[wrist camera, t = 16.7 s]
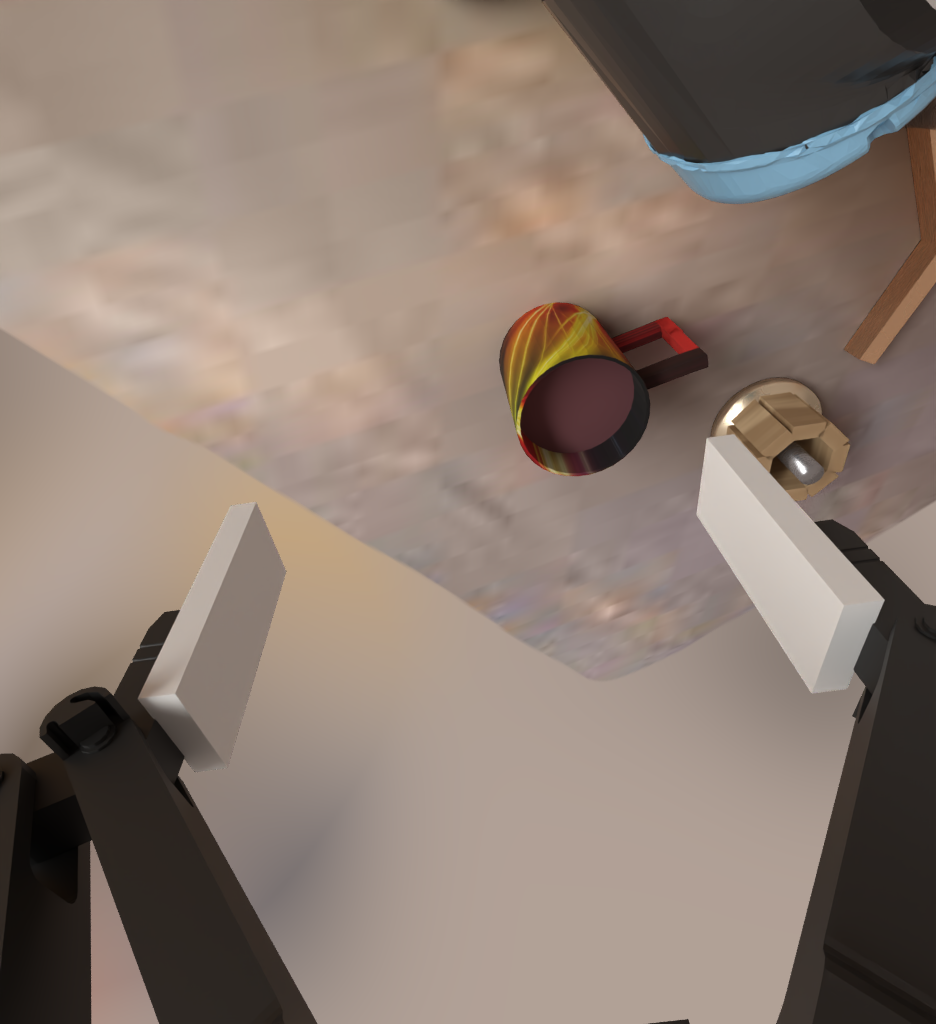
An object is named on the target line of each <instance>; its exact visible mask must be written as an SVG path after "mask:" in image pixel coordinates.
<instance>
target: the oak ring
mask: <svg viewBox="0 0 936 1024" xmlns="http://www.w3.org/2000/svg"><path fill="white" fill-rule="evenodd" d="M731 422H732V423H733V424H734V425H729V426H728V427H727V433H726V435H731V434H734V435H735V436H736V437H737V438H738V439H739V440H740V441H741V442H742V444H743V445H744V446H745V447H746V448H747V449H748V450H749V451H750V452H751V453H752V455H753V456H754V457H755V458H756V459H757V460H758V461H759V462H760V463H761V464H762V466H763V467H764V468H765V469H766V470H767V471H768V472H769V473H770V474H771V475H772V477H773V478H774V479H775V480H776V481H777V482H778V483H779V484H780V485H781V487H782V488H783V489H784V490H785V491H786V492H787V493H788V494H789V495H790V496H791V498H792V499H793V500H794V501H799V500H806V498H807V494H809V495H810V496H811V497H812V496H814V495H815V494H816V493H818V492H819V491H820V490H821V489H823V488H824V487H825V486H827V485H828V484H829V483H831V482H832V481H833V480H834V479H836V478H837V477H838V475H837V474H835V472H842V471H843V467H844V464H845V461H846V457H847V454H848V451H849V448H850V444H849V443H848V441H849V439H848V438H847V437H846V436H845V435H844V434H843V433H842V432H841V431H839V430H838V429H837V428H836V427H835V426H834V425H833V424H832V423H831V422H830V421H829V420H827V419H826V418H825V417H824V416H822V415H821V414H820V413H819V412H817V411H816V410H815V409H814V408H812V407H811V406H810V405H809V404H808V403H806V402H805V401H804V400H803V399H801V398H800V397H799V396H798V395H796V394H794V395H793V394H792V393H791V392H787V393H780V394H773V395H766V396H760V400H759V403H758V402H757V401H756V400H755V399H754V400H753V401H752V402H751V403H750V404H749V405H748V406H746V407H745V408H744V409H743V410H742V411H741V412H740V413H739V414H738V415H737V416H735V417H734V418H733V419H732V420H731ZM793 441H795V442H796V443H797V444H799V445H800V446H801V447H802V448H803V449H804V450H805V451H806V452H807V453H808V454H809V455H810V456H811V457H812V458H813V459H815V460H816V461H817V462H818V463H819V464H820V465H821V466H822V467H823V468H824V475H823V477H822V478H821V479H820V480H819V481H818V482H816V483H814V484H811V485H805V484H803V483H801V482H800V481H799V480H798V478H797V477H796V476H795V475H794V474H793V473H792V472H791V471H790V470H789V469H788V468H787V467H786V466H785V465H784V464H783V463H782V462H781V461H780V460H779V459H778V458H777V457H776V455H778V454H779V453H780V452H781V451H782V450H784V449H785V448H786V447H787V446H788V445H790V444H791V443H792V442H793Z"/></svg>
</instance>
